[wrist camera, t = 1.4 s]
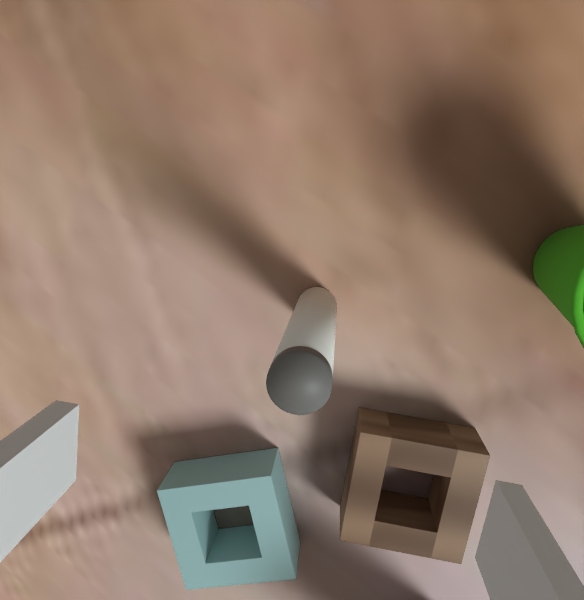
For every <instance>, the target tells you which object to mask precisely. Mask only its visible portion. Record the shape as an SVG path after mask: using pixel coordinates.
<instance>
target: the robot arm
mask: <svg viewBox="0 0 584 600" xmlns="http://www.w3.org/2000/svg"><path fill="white" fill-rule="evenodd" d="M78 418H79V404H74V403H68V402H63V401H57V400H56V401H55V402H53V403H52V404H50V405H49V406H48V407H46V408H45V409H44V410H42V411H41V412H40V413H38V414H37V415H35V416H34V417H33V418H31V419H30V420H29V421H27V422H26V423H24V424H23V425H22V426H20V427H19V428H18V429H16V430H15V431H14V432H12V433H11V434H9V435H8V436H7V437H5V438H4V439H3V440H1V441H0V562H1V561H2V560H3V559H4V558H5V557H6V556H7V554H8V553H9V552H10V551H11V550H12V549H13V548H14V547H15V546H16V545H17V544H18V543H19V541H20V540H21V539H22V538H23V537H24V536H25V535H26V534H27V533H28V532H29V531H30V529H31V528H32V527H33V526H34V525H35V524H36V523H37V522H38V521H39V520H40V519H41V518H42V516H43V515H44V514H45V513H46V512H47V511H48V510H49V509H50V508H51V507H52V506H53V505H54V503H55V502H56V501H57V500H58V499H59V498H60V497H61V496H62V495H63V494H64V493H65V492H66V490H67V489H68V488H69V487H70V486H71V485H72V484H73V483H74V482H75V481H76V465H77V441H78ZM475 558H476V561H477V564H478V567H479V569H480V572H481V575H482V578H483V580H484V583H485V586H486V589H487V591H488V594H489V597H490V600H584V586H583V584H582V583H581V581H580V579H579V578H578V576H577V575H576V573H575V571H574V570H573V568H572V566H571V565H570V563H569V561H568V560H567V558H566V557H565V555H564V553H563V552H562V550H561V548H560V547H559V545H558V543H557V542H556V540H555V538H554V537H553V535H552V534H551V532H550V530H549V529H548V527H547V525H546V524H545V522H544V520H543V519H542V517H541V516H540V514H539V512H538V511H537V509H536V507H535V506H534V504H533V502H532V501H531V499H530V498H529V496H528V494H527V493H526V491H525V489H524V488H523V486H522V485H519V484H514V483H508V482H503V481H497V480H496V482H495V486H494V489H493V493H492V497H491V500H490V504H489V508H488V512H487V515H486V519H485V523H484V526H483V530H482V534H481V537H480V541H479V545H478V548H477V552H476V556H475Z"/></svg>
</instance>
